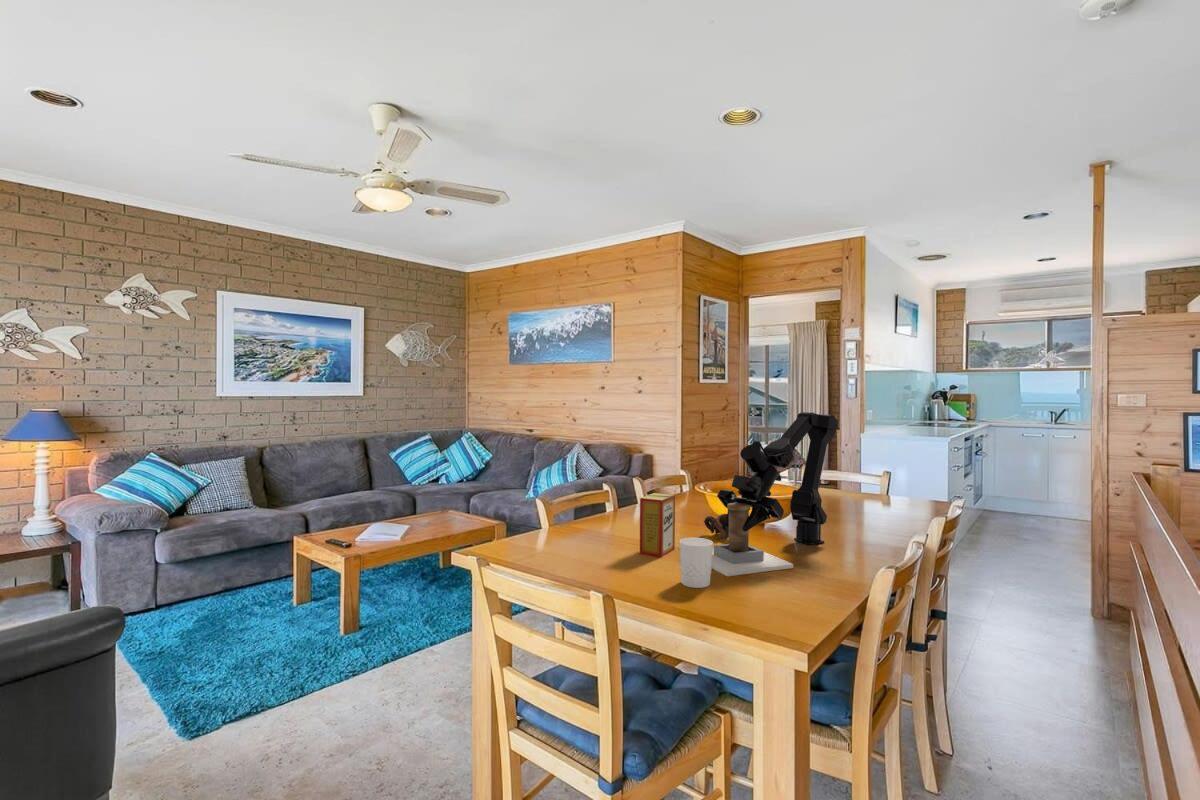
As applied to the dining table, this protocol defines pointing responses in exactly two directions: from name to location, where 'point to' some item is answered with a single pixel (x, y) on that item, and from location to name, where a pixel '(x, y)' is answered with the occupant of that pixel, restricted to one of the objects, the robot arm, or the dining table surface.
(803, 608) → the dining table surface
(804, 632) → the dining table surface
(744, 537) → the brown cylinder
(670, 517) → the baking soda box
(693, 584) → the white cup
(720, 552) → the square socket base
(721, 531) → the pottery mug
